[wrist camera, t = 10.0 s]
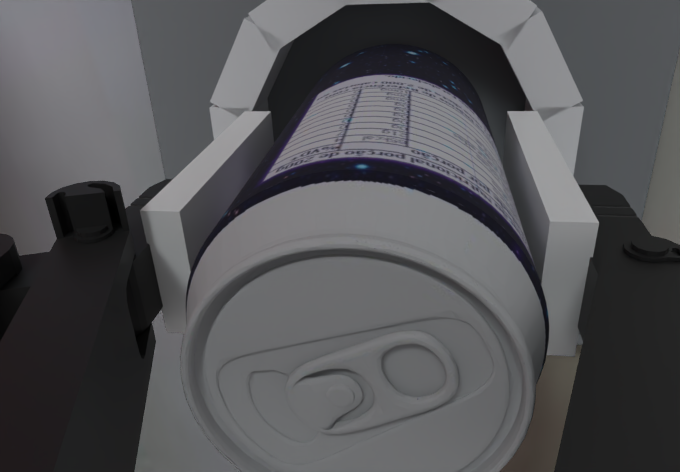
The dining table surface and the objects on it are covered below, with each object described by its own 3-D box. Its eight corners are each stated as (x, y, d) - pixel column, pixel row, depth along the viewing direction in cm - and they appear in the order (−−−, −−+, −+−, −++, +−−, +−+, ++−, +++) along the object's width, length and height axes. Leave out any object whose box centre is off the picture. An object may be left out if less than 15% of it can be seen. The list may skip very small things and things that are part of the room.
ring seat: (202, 308, 24) (173, 354, 22) (119, -148, 17) (60, -162, 14) (606, 329, 22) (629, 384, 19) (716, -191, 14) (777, -217, 12)
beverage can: (273, 91, 18) (69, 307, 8) (439, 2, 17) (465, 131, 6) (355, 235, 20) (280, 562, 10) (512, 171, 19) (624, 486, 8)
